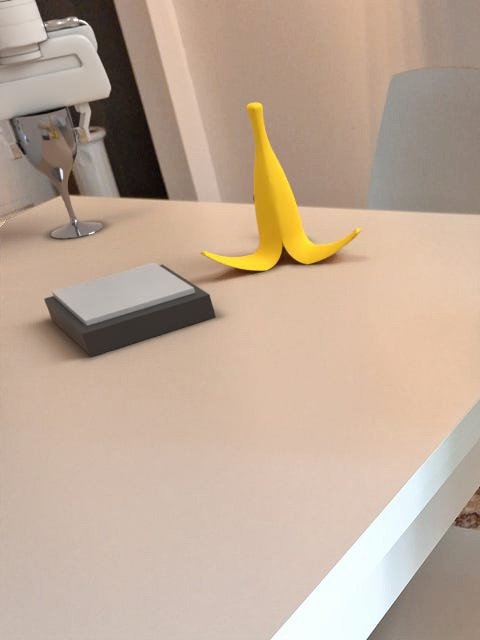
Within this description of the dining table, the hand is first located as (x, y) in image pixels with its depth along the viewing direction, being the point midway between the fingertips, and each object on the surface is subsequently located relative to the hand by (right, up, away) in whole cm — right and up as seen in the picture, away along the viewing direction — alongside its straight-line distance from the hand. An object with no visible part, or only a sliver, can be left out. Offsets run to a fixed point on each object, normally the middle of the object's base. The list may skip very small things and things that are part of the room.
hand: (51, 150), depth 123 cm
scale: (+19, -30, -21) cm, 42 cm away
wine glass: (+1, -8, +7) cm, 10 cm away
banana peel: (+36, -19, -10) cm, 42 cm away
